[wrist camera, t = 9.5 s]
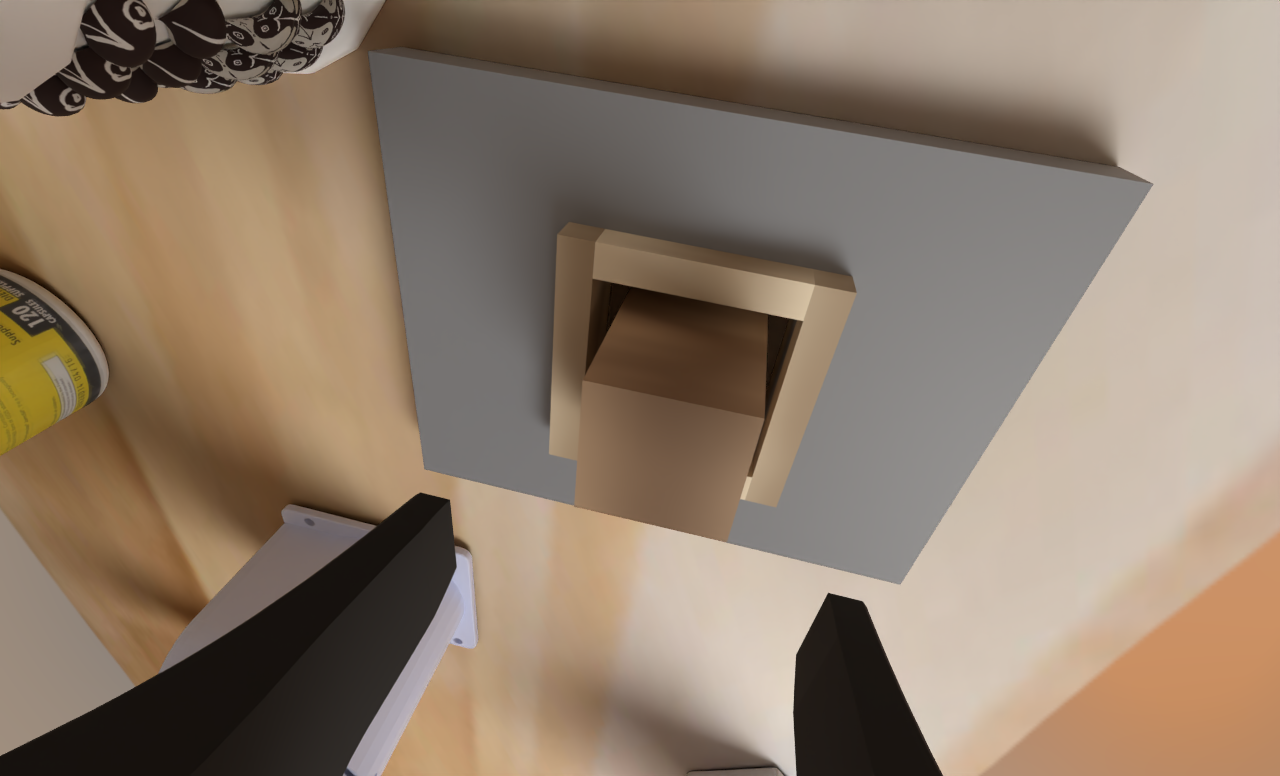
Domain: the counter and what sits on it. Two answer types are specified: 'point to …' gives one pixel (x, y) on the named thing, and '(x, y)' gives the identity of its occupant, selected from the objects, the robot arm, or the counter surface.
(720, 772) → the coffee box
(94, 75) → the decorative candle
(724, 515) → the walnut block
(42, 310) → the pill bottle
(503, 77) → the plate
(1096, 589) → the counter surface
